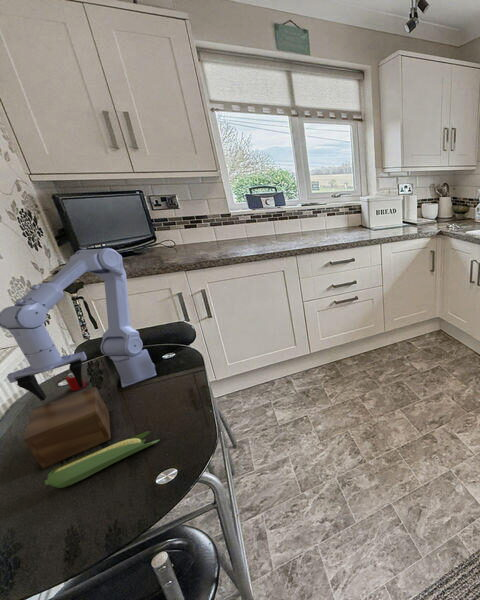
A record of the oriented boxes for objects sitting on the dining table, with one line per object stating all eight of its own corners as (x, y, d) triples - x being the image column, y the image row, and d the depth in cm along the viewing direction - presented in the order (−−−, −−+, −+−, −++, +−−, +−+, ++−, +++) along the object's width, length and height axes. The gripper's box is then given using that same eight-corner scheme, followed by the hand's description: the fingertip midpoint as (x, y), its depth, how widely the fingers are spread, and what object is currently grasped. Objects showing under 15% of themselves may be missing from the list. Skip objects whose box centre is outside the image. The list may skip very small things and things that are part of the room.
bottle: (85, 382, 111) (78, 369, 109) (85, 387, 108) (78, 373, 106) (71, 387, 109) (64, 373, 107) (71, 392, 106) (63, 378, 104)
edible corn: (53, 483, 72) (43, 468, 71) (160, 435, 84) (153, 421, 82) (50, 499, 69) (40, 483, 67) (162, 446, 80) (155, 432, 79)
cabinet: (48, 436, 87) (32, 409, 84) (109, 412, 95) (95, 386, 91) (42, 469, 77) (23, 439, 73) (110, 439, 84) (96, 411, 81)
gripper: (-6, 366, 77) (22, 412, 82) (75, 343, 86) (97, 386, 91) (0, 355, 82) (27, 399, 87) (77, 335, 91) (97, 376, 96)
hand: (63, 392), depth 90 cm, fingers open, 7 cm apart
